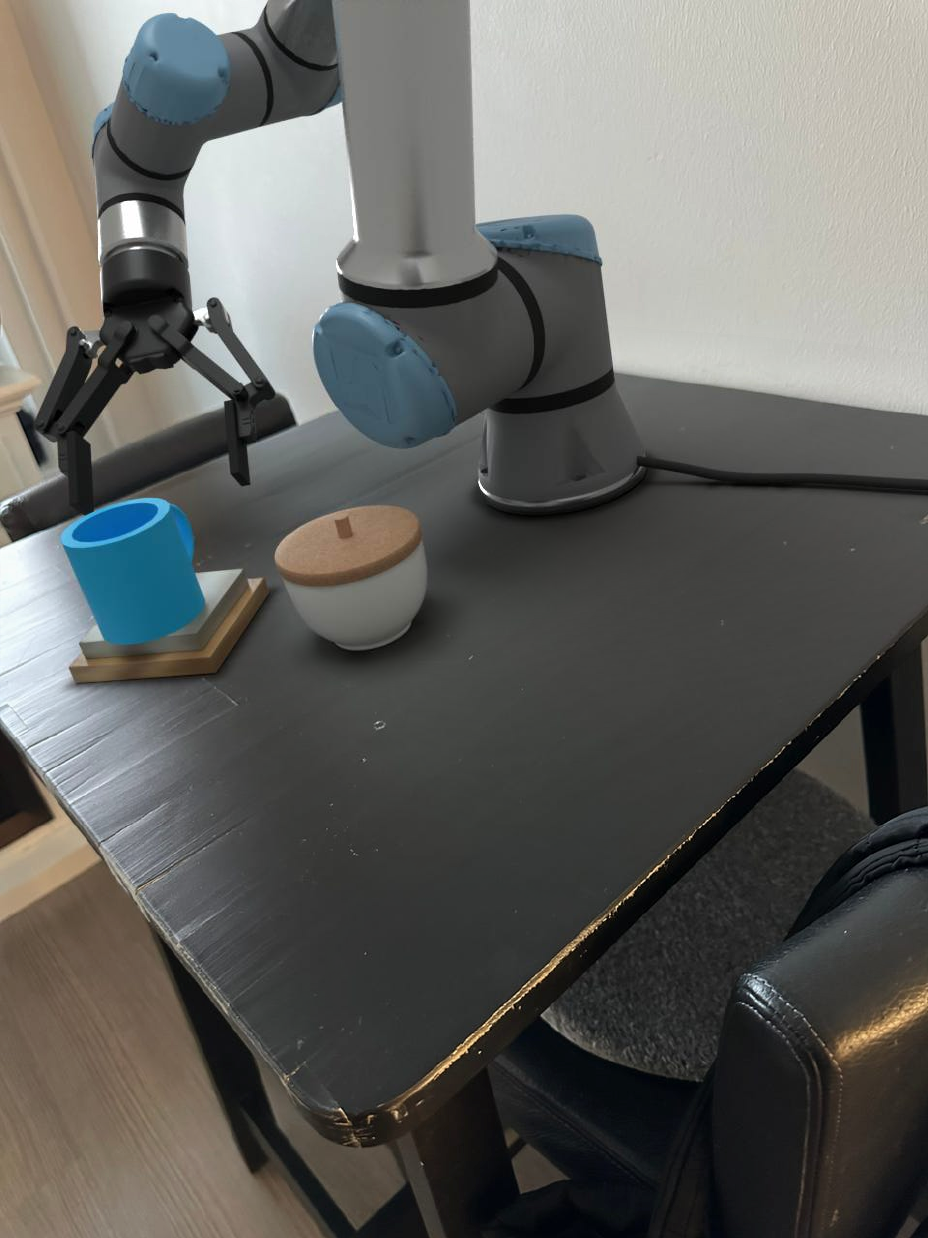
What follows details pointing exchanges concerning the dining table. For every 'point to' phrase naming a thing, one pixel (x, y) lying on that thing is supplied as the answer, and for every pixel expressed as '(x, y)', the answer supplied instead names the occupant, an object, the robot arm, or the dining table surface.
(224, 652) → the pad stack
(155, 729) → the dining table surface
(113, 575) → the mug
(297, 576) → the trinket box
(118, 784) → the dining table surface
